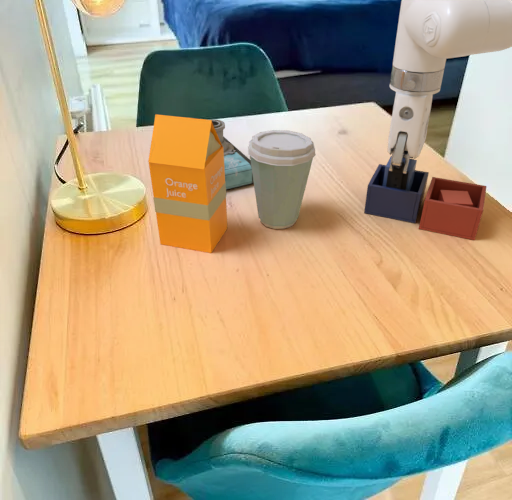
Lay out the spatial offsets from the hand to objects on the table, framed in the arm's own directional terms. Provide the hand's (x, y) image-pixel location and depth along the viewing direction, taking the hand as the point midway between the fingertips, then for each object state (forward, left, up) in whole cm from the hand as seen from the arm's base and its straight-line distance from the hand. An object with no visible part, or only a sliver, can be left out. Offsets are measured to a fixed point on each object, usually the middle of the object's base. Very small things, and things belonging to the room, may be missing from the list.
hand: (398, 184), depth 87 cm
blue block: (0, 0, 0) cm, 0 cm away
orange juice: (+28, +22, -5) cm, 36 cm away
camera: (+35, 0, -5) cm, 36 cm away
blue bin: (0, 0, -4) cm, 4 cm away
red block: (-10, +2, -4) cm, 10 cm away
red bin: (-9, +1, -4) cm, 10 cm away
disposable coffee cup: (+17, +12, -5) cm, 21 cm away
